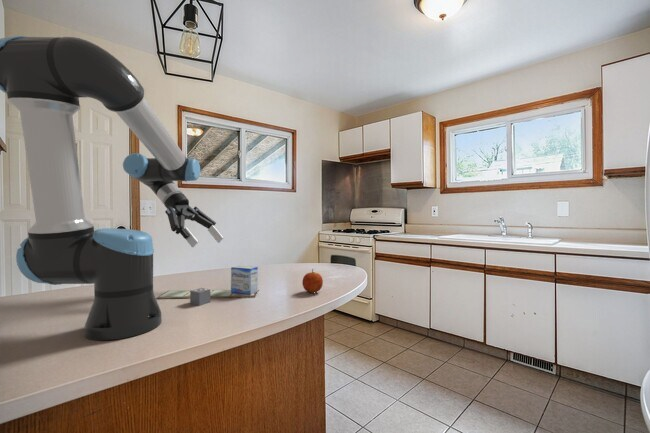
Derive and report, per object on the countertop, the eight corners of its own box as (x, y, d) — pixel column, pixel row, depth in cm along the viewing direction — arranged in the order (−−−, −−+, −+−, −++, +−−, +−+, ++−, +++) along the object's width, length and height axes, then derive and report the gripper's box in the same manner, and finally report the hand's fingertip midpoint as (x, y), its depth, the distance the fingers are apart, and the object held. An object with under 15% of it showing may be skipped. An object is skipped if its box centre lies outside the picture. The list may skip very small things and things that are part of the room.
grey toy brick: (210, 302, 91) (210, 289, 91) (199, 306, 88) (199, 292, 88) (201, 300, 93) (201, 287, 93) (190, 304, 90) (190, 290, 90)
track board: (259, 289, 106) (259, 288, 106) (255, 297, 97) (255, 296, 97) (168, 291, 103) (168, 290, 103) (155, 299, 94) (155, 297, 94)
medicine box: (230, 293, 100) (230, 267, 100) (238, 289, 104) (238, 264, 104) (250, 295, 97) (250, 268, 97) (258, 291, 102) (258, 266, 102)
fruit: (319, 296, 98) (319, 271, 98) (299, 294, 100) (299, 270, 100) (324, 290, 105) (324, 267, 105) (305, 289, 107) (305, 266, 107)
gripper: (191, 206, 121) (224, 245, 117) (137, 206, 97) (175, 254, 93) (203, 193, 119) (235, 232, 116) (150, 189, 95) (189, 238, 92)
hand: (209, 242), depth 104 cm, fingers open, 13 cm apart
